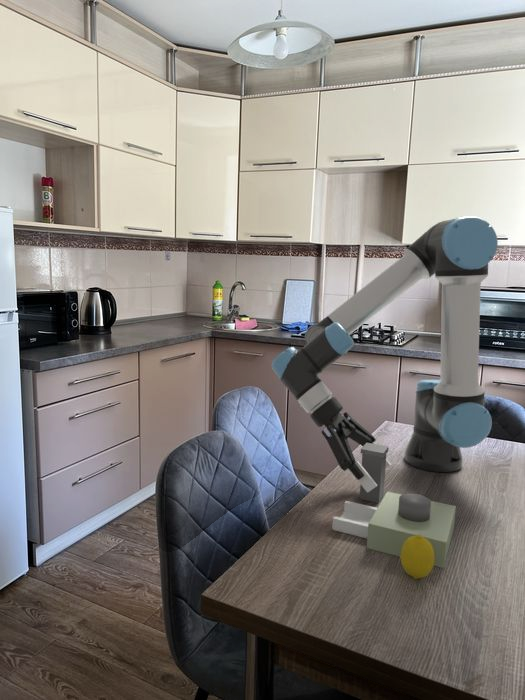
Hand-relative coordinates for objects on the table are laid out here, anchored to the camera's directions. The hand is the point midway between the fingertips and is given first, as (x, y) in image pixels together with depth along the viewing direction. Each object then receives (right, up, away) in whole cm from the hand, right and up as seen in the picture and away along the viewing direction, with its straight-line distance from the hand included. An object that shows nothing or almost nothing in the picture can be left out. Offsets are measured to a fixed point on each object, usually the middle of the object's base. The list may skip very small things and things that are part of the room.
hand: (380, 478), depth 120 cm
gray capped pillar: (-2, -5, +2) cm, 5 cm away
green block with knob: (-1, -7, -15) cm, 16 cm away
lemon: (-1, -10, -30) cm, 31 cm away
